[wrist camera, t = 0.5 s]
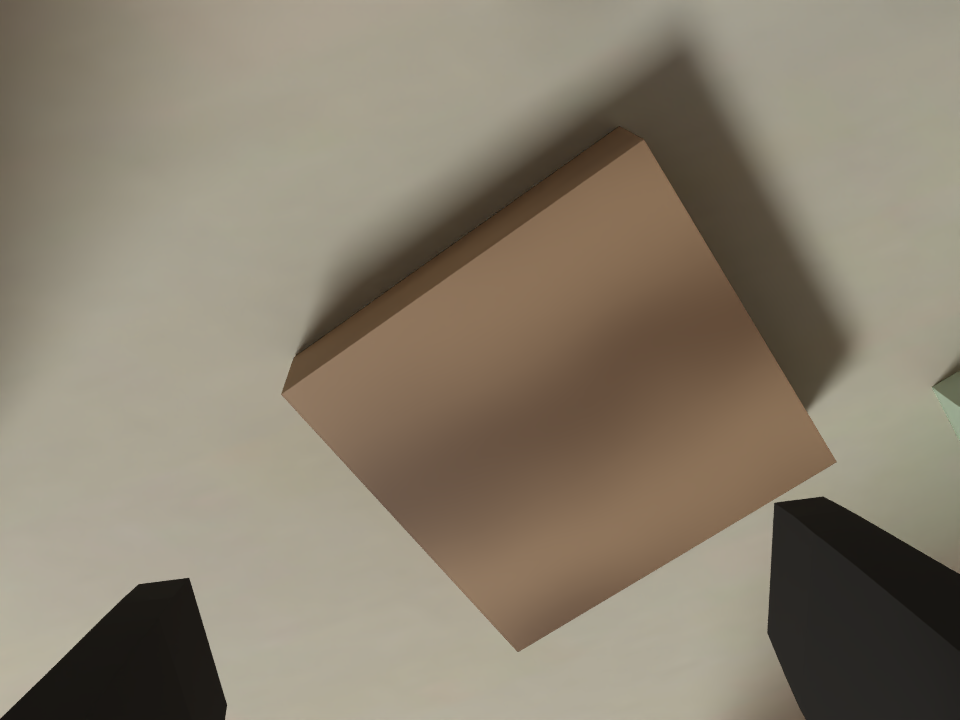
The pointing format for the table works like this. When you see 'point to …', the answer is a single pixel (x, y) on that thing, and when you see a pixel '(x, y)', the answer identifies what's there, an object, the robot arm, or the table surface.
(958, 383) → the block
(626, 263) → the plinth
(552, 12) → the table surface
